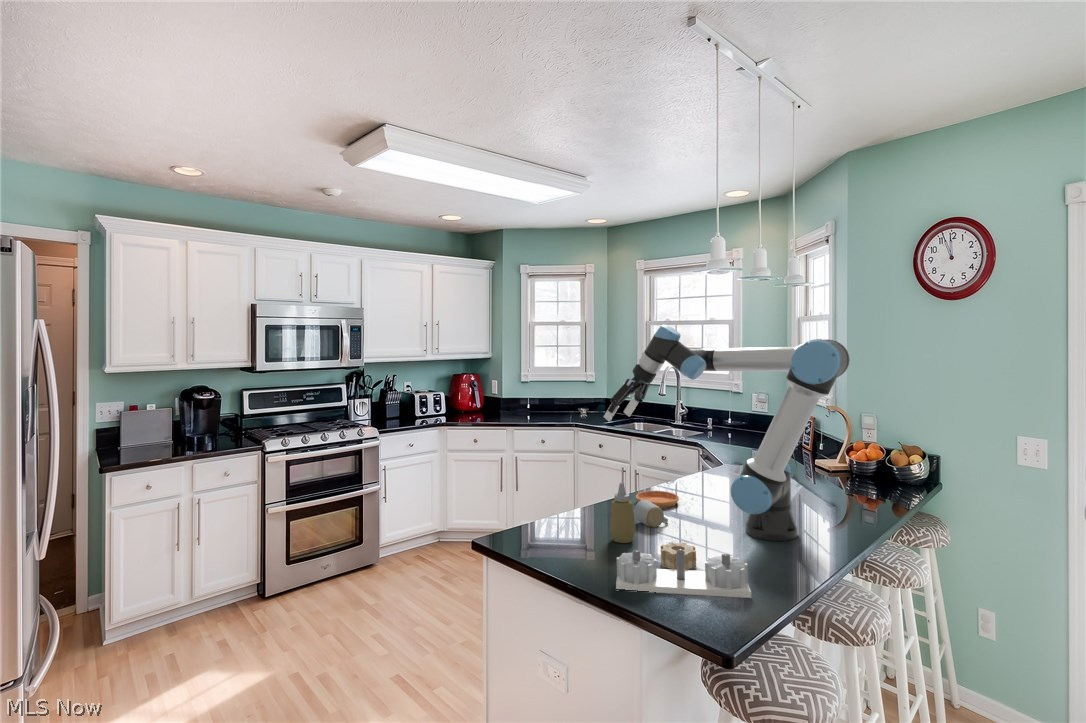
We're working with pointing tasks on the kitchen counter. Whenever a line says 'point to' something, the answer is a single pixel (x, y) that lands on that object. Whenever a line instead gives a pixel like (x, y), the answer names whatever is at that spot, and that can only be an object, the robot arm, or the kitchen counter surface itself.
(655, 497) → the saucer
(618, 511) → the squeeze bottle
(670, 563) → the wooden gear
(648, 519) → the ceramic mug
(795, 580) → the kitchen counter surface
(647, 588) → the gear board
